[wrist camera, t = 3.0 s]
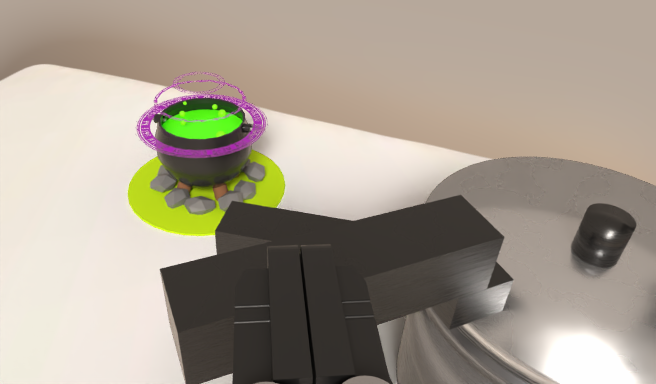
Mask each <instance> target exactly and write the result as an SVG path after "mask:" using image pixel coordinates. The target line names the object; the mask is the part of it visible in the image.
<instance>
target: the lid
mask: <svg viewBox="0 0 656 384" xmlns="http://www.w3.org/2000/svg"><path fill="white" fill-rule="evenodd" d="M324 244H330V245H331V247H332V251H333V257H334V262H335V266H354V267H355V268H356V269H357V271H358V272H359V273H360V274H361V276H362V277H363V278H364V279H365V281H366V283H367V288H368V292H369V296H370V303H371V304H372V308H373V312H374V318H375V321H376V325H379V324H382V323H385V322H388V321H391V320H394V319H397V318H400V317H403V316H406V315H409V314H412V313H415V312H418V311H421V310H424V309H427V308H430V307H432V308H433V310H434V311H435V312H436V314H437V315H438V316H439V317H440V319H441V320H442V321H443V323H444V324H445V325H446V327H447V328H448V329H449V330H450V329H453V328H456V327H457V328H458V329H459V331H460V332H461V333H462V334H463V335H464V336H465V337H466V338H467V339H469V340H470V341H471V342H472V343H473V344H474V345H475V346H476V347H477V348H478V349H479V350H480V351H482V352H483V353H484V354H485V355H487V356H488V357H489V358H491V359H492V360H493V361H495V362H496V363H497V364H499V365H500V366H501V367H503V368H504V369H505V370H507V371H508V372H510V373H512V374H513V375H515V376H517V377H518V378H520V379H521V380H523V381H525V382H526V383H528V384H656V186H654V185H652V184H650V183H647V182H645V181H642V180H639V179H637V178H635V177H632V176H629V175H626V174H623V173H620V172H617V171H613V170H610V169H607V168H603V167H599V166H595V165H592V164H587V163H582V162H577V161H571V160H564V159H556V158H545V157H511V158H500V159H494V160H488V161H484V162H480V163H477V164H473V165H470V166H468V167H466V168H463V169H461V170H459V171H457V172H455V173H454V174H452V175H450V176H448V177H447V178H446V179H445V180H443V181H442V182H441V183H440V184H439V185H438V186H437V187H436V188H435V189H434V190H433V192H432V193H431V194H430V196H429V198H428V200H427V201H426V203H425V204H421V205H417V206H413V207H409V208H405V209H401V210H397V211H393V212H389V213H384V214H380V215H376V216H372V217H368V218H364V219H360V220H356V221H352V222H348V223H344V224H340V225H336V226H332V227H328V228H324V229H320V230H316V231H312V232H308V233H303V234H299V235H295V236H291V237H287V238H283V239H279V240H275V241H271V242H267V243H263V244H259V245H255V246H251V247H247V248H243V249H239V250H235V251H231V252H227V253H223V254H218V255H214V256H210V257H206V258H202V259H198V260H194V261H190V262H186V263H182V264H178V265H174V266H170V267H166V268H162V269H160V272H161V278H162V284H163V289H164V295H165V300H166V306H167V312H168V317H169V323H170V327H171V331H172V335H173V338H174V342H175V346H176V350H177V353H178V357H179V361H180V365H181V368H182V372H183V376H184V380H185V384H201V383H204V382H207V381H210V380H213V379H216V378H219V377H222V376H225V375H228V374H231V373H233V352H234V315H235V286H236V284H237V282H238V281H239V279H240V277H241V275H242V274H243V272H244V270H245V269H267V246H294V245H298V248H300V245H324Z"/></svg>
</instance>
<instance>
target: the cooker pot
mask: <svg viewBox="0 0 656 384" xmlns="http://www.w3.org/2000/svg"><path fill="white" fill-rule="evenodd" d="M348 222H352V221H350V220H344V219H338V218H332V217H326V216H320V215H314V214H309V213H303V212H297V211H291V210H285V209H279V208H273V207H267V206H261V205H255V204H249V203H243V202H237V201H231V203H230V205H229V207H228V209H227V210H226V212H225V214H224V216H223V217H222V219H221V221H220V223H219V225H218V226H217V228H216V230H215V237H216V249H217V255H218V254H223V253H227V252H231V251H235V250H239V249H243V248H247V247H251V246H255V245H259V244H263V243H267V242H271V241H275V240H279V239H283V238H287V237H291V236H295V235H299V234H303V233H308V232H312V231H316V230H320V229H324V228H328V227H332V226H336V225H340V224H344V223H348ZM397 380H398V384H528V383H526V382H525V381H523V380H521V379H520V378H518V377H517V376H515V375H513V374H512V373H510V372H508V371H507V370H505V369H504V368H503V367H501V366H500V365H499V364H497V363H496V362H495V361H493V360H492V359H491V358H489V357H488V356H487V355H485V354H484V353H483V352H482V351H480V350H479V349H478V348H477V347H476V346H475V345H474V344H473V343H472V342H471V341H470V340H469V339H467V338H466V337H465V336H464V335H463V334H462V333H461V332H460V331H459V329H458V328H457V327H456V328H453V329H450V330H449V329H448V328H447V327H446V325H445V324H444V323H443V321H442V320H441V319H440V317H439V316H438V315H437V314H436V312H435V311H434V310H433V308H432V307H430V308H427V309H424V310H421V311H418V312H415V313H412V314H409V315H407V316H406V320H405V325H404V329H403V334H402V338H401V343H400V347H399V353H398V358H397Z"/></svg>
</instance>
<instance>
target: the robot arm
mask: <svg viewBox="0 0 656 384" xmlns="http://www.w3.org/2000/svg"><path fill="white" fill-rule="evenodd" d="M233 384H393V383H392V381H391V379H390V377H389V374H388V370H387V366H386V362H385V358H384V354H383V350H382V346H381V341H380V337H379V333H378V329H377V325H376V321H375V318H374V312H373V308H372V304H371V303H370V296H369V292H368V288H367V283H366V281H365V279H364V278H363V277H362V276H361V274H360V273H359V272H358V271H357V269H356V268H355V267H354V266H335V262H334V257H333V251H332V247H331V245H330V244H324V245H300V248H298V245H294V246H267V269H245V270H244V272H243V274H242V275H241V277H240V279H239V281H238V282H237V284H236V286H235V315H234V352H233Z"/></svg>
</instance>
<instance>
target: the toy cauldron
mask: <svg viewBox="0 0 656 384" xmlns="http://www.w3.org/2000/svg"><path fill="white" fill-rule="evenodd" d="M208 81H209V80H208ZM210 81H211V80H210ZM189 82H191V81H189ZM189 82H188V83H189ZM199 82H202V80H201V81H199ZM213 82H214V81H213ZM223 83H224V84H225V82H223ZM177 84H181V83H177ZM226 84H227V83H226ZM174 85H176V84H173V86H171V87H174ZM219 85H220V84H219ZM223 86H224V85H223ZM228 86H230V85H229V84H228ZM171 87H169V88H171ZM231 87H233V86H231ZM167 88H168V87H167ZM167 88H165V89H166V90H168V89H169V88H168V89H167ZM235 88H236V87H235ZM237 89H238V91H239V88H237ZM163 90H164V89H163ZM163 90H162V92H164V91H163ZM166 90H165V91H166ZM177 90H178V88H177ZM186 91H187V90H186ZM160 92H161V91H160ZM162 92H161V93H162ZM181 92H182V91H181ZM183 92H184V93H185V91H183ZM190 92H191V91H190ZM239 92H240V91H239ZM161 93H159V94H158V95H159V96H160V94H161ZM194 93H195V92H194ZM197 93H198V92H197ZM240 93H242V91H241V92H240ZM189 94H191V93H189ZM201 95H206V94H199V95H194V97H192V99H191V97H189V96H190V95H189V96H186V98H183V97H184V96H182V97H181V101H180V100H179V99H178V98H179V97H177V102H176V101H175V98H173V101H171V99H170V101H171V103H170V102H168V100H167V101H166V102H167V103H165V101H164V103H165V104H163V102H162V103H161V104H162V105H163V106H162V105H161V104H160V106H159V105H158V104H156V105H158V106H156V105H155V104H154V105H155V106H154V108H155V109H153V107H152V109H153V110H154V111H153V110H152V109H151V108H150V109H151V110H152V111H151V110H150V109H149V110H150V111H151V112H149V111H148V112H149V113H148V112H147V111H146V112H147V113H148V114H147V113H146V112H145V113H146V114H147V115H146V114H145V113H144V114H143V115H142V116H143V117H144V116H145V115H146V116H147V117H146V116H145V118H144V119H143V117H142V116H141V117H142V119H143V121H145V122H143V121H142V124H144V125H142V124H141V132H142V131H143V132H142V135H143V137H144V138H145V139H146V140H147V141H148V142H149V143H150V144H152V145H153V144H154V145H153V146H155V147H156V148H155V147H153V146H152V147H153V148H155V149H156V151H157V155H158V156H157V157H155V158H154V159H152V160H150V161H149V162H147V163H146V164H145V165H143V166H142V167H141V168H140V169H139V170H138V171H137V172H136V174H135V175H134V176H133V178H132V180H131V182H130V184H129V189H128V199H129V204H130V206H131V208H132V209H133V211H134V213H135V214H136V215H137V216H138V217H139V218H141V219H142V220H143V221H144V222H146V223H148V224H149V225H151V226H153V227H155V228H158V229H161V230H163V231H166V232H170V233H175V234H181V235H192V236H207V235H215V230H216V228H217V226H218V225H219V223H220V221H221V219H222V217H223V216H224V214H225V212H226V210H227V209H228V207H229V205H230V203H231V201H237V202H243V203H249V204H255V205H261V206H267V207H273V208H276V207H277V205H278V204H279V203H280V201H281V199H282V197H283V195H284V189H285V182H284V177H283V174H282V172H281V171H280V169H279V167H278V166H277V165H276V164H275V163H274V162H273V161H272V160H271V159H269V158H268V157H266V156H265V155H263V154H261V153H259V152H256V151H254V150H252V149H251V143H252V142H253V141H254V140H255V139H257V138H258V137H259V135H260V134H261V133H262V131H263V132H264V131H265V127H266V121H265V124H264V119H265V118H264V119H263V117H264V116H263V114H261V113H260V112H261V111H260V110H259V109H258V108H256V107H255V106H254V107H253V106H252V104H250V103H249V105H250V106H249V105H247V104H248V103H247V102H245V101H244V99H245V96H244V95H243V94H242V95H243V97H242V98H244V99H243V100H242V103H243V102H244V103H243V104H242V103H241V102H240V101H241V100H239V99H236V98H235V99H236V103H235V100H234V99H233V100H234V101H233V100H232V99H230V97H229V96H228V97H229V98H228V100H227V99H226V98H225V96H224V95H223V96H224V97H223V96H222V97H223V98H222V99H220V98H221V97H218V95H213V96H212V95H211V96H210V97H209V98H208V96H207V98H206V97H205V98H203V97H204V96H201ZM208 95H210V94H208ZM156 96H157V95H156ZM159 96H158V97H159ZM214 96H215V99H214V98H213V97H214ZM158 97H157V98H156V97H155V98H156V100H154V101H155V102H157V99H158ZM196 97H198V98H196ZM155 98H154V99H155ZM189 98H190V99H189ZM217 98H219V99H217ZM223 99H224V100H223ZM225 99H226V100H227V101H226V100H225ZM178 100H179V101H178ZM238 100H239V101H238ZM229 101H230V102H229ZM155 102H154V103H155ZM172 102H173V104H172ZM175 102H176V103H175ZM233 102H234V103H233ZM237 102H238V103H241V104H239V105H238V103H237ZM168 103H169V106H168ZM245 103H247V104H246V107H245V108H244V106H243V105H245ZM166 104H167V105H166ZM170 104H171V105H170ZM235 104H236V105H235ZM164 105H165V106H166V107H165V106H164ZM237 105H238V106H237ZM240 105H241V106H240ZM239 106H240V107H242V106H243V107H242V108H244V109H245V110H246V111H248V110H247V109H250V111H248V112H249V113H250V115H251V116H252V118H253V121H254V125H252V124H248V123H247V121H246V119H245V113H244V112H243V110H242V108H240V107H239ZM248 106H249V107H248ZM251 106H252V107H253V108H255V109H256V110H257V109H258V110H259V111H260V112H259V111H258V110H257V111H258V112H259V113H260V115H261V117H262V119H263V127H262V120H261V117H260V115H259V114H258V113H257V111H256V110H255V109H254V111H253V108H252V107H251ZM165 108H166V109H165ZM161 109H162V110H163V109H164V110H163V111H162V110H161ZM156 110H157V112H156ZM160 111H162V112H161V114H157V113H160ZM255 111H256V112H255ZM153 112H156V114H154V113H153ZM254 112H255V115H253V114H254ZM151 113H153V114H151ZM252 113H253V114H252ZM256 113H257V114H256ZM149 115H150V116H149ZM256 115H257V116H256ZM264 115H265V114H264ZM254 116H255V117H254ZM148 117H149V118H148ZM258 117H260V118H259V119H258ZM265 117H266V116H265ZM254 118H257V119H256V121H255V119H254ZM140 119H141V118H140ZM140 119H139V120H140ZM142 119H141V120H142ZM266 119H267V118H266ZM152 120H154V122H155V123H157V130H156V134H155V137H154V136H153V135H152V133H151V131H150V123H151V121H152ZM146 121H147V123H148V124H146ZM148 121H149V122H148ZM138 123H139V121H138ZM140 123H141V121H140ZM140 123H139V127H138V124H137V127H138V129H137V130H138V131H139V134H140V135H139V134H138V136H139V137H140V139H141V140H143V141H144V142H145V144H146V145H147V144H148V143H147V142H146V141H145V140H144V139H143V137H142V136H141V133H140ZM145 124H146V125H145ZM255 124H259V125H261V126H256V125H255ZM264 125H265V126H264ZM267 125H268V124H267ZM144 128H145V129H144ZM146 128H149V129H146ZM266 129H267V128H266ZM146 130H147V131H146ZM138 131H137V133H138ZM145 131H146V132H148V131H149V134H151V136H150V135H148V137H147V134H145V133H146V132H145ZM253 131H256V132H254V133H255V134H256V133H257V135H258V134H259V132H260V131H261V132H260V134H259V135H258V136H257V135H255V134H254V133H252V132H253ZM257 131H259V132H257ZM252 134H253V135H255V136H253V135H252ZM262 134H263V133H262ZM262 134H261V135H262ZM251 135H252V136H253V137H252V136H251ZM256 136H257V138H255V137H256ZM151 138H152V139H154V140H152V139H151ZM251 138H253V139H254V138H255V139H254V140H253V139H251ZM259 138H260V137H259ZM259 138H258V139H259ZM148 139H150V140H151V141H150V140H148ZM258 139H257V140H258ZM252 140H253V141H252ZM153 141H154V143H153ZM155 141H156V142H155ZM251 141H252V142H251ZM151 142H152V143H151ZM254 142H255V141H254ZM254 142H253V143H254ZM150 144H149V145H150ZM147 146H148V145H147ZM150 146H151V145H150ZM150 146H149V147H150ZM150 148H151V147H150ZM153 148H152V149H153ZM155 149H154V150H155Z"/></svg>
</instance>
